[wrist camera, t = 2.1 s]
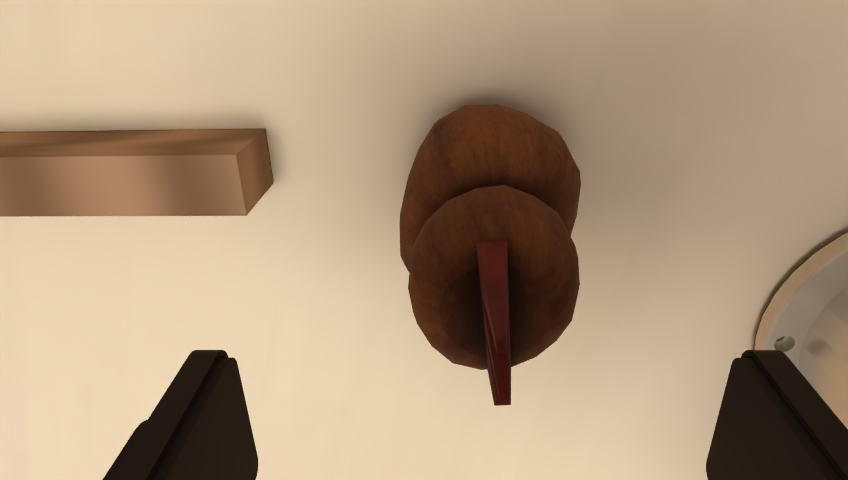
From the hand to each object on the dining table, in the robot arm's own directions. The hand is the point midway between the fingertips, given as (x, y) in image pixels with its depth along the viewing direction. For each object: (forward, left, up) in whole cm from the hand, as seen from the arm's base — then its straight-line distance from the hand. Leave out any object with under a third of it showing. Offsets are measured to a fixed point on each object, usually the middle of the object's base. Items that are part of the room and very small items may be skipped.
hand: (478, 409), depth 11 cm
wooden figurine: (-1, 0, -15) cm, 15 cm away
